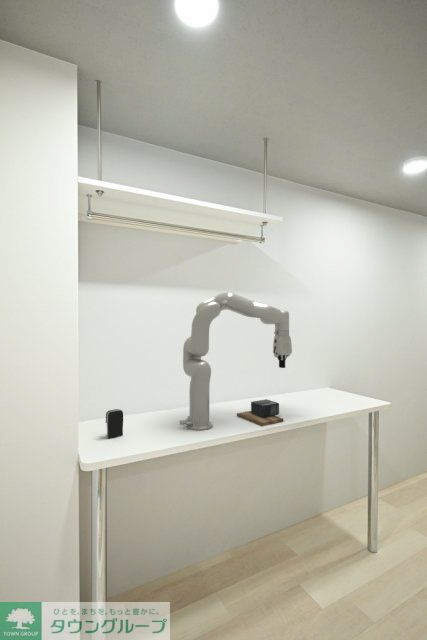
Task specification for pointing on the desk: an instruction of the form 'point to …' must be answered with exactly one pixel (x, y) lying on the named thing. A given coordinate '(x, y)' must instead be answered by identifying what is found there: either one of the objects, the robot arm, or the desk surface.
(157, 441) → the desk surface
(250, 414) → the board
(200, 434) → the desk surface
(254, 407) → the small box
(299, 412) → the desk surface
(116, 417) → the battery charger
